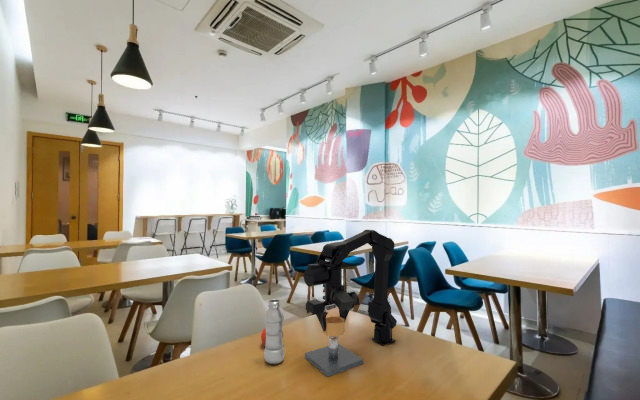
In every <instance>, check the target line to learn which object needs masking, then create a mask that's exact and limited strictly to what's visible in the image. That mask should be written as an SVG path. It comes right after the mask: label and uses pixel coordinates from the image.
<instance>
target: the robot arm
mask: <svg viewBox="0 0 640 400" xmlns="http://www.w3.org/2000/svg"><path fill="white" fill-rule="evenodd" d="M367 244H368V246H370V247H371V250H372V251H371V252H372V255H373V257H374V259H375V268H374V269H375V271H374V292H373V298H372V299H371V301H368V302H367V312H366V313H368V317H369V319H370V322H371V323H372V324H374V329H373V337H372V338H371V340H372V341H373V342H376V343H378V344H380V345H382V346H386V345H390V344H392V343H395V342H396V339H394V338H393V329H394V328H395V327H396V326H397V322H398V321H397V319H396V318H395V317H394V315H393V314H392V307H391V303H390V302H389V300H388V292H389V291H388V287H389V270H390V269H389V266H390V265H389V263H390V260H391V258H392V257H393V255H394V252H395V251H394V250H395V242H394V240H393V238H391V237H387V236H385V235H383V234H381V233H379V232H378V231H376V230H375V229H364V230H362V232H359V233H357V234H355V235H353V236H350V237H349V238H347V239H344V240H343V241H335V242H330V243H326V244H325V245H324V246H323V247H322V250H321V252H320V254H319V256H318V258H317V259H316V261H315V263H314V264H313V263H312V264H311V263H309V264H307V268H306V269H305V270H304V273H303V280H304V284H305V285H306V286H307V287H315V286H320V285H322V288H324V295H322V300H323V301H320V300H318V299H312V300H306V301H307V302H306V303H305V311H307V312H309V313H311V314H312V315H315V316H316V317H317V319H318V322H319V324H320V327H321V329H322V332H323V331H324V332H325V331H326V317H327V315H328V314H329V312H328V311H326V308H329V307H333V306H334V307H335V306H336V307H337V308H338V313H339V314H338V315H339V316H340V317H342V318H344V319H345V322H346V321H347V317H348V316H349V313H350V311H351V310H352V309H355V306H359V305H360V303H361V302H360V297H359V295H358V294H357V293H356V292H355V291H350V292H349V291H348V292H346V289H345V285H343V278H342V277H343V276H342V275H343V274H342V273H343V269H344V268H347V266H348V265H347V264H346V263H345V262H344V260H346V259H347V258H348V256H349V254H350V253H352V252H353V251H356V250H357V249H359V248H361V247H363V246H365V245H367Z"/></svg>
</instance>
